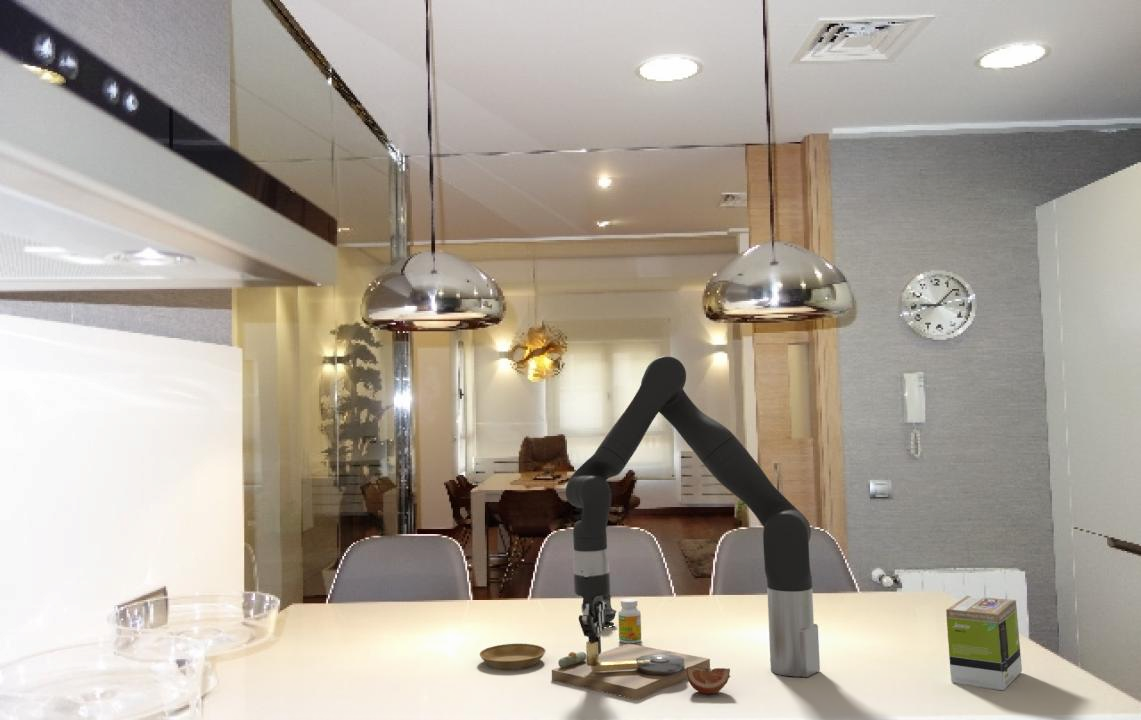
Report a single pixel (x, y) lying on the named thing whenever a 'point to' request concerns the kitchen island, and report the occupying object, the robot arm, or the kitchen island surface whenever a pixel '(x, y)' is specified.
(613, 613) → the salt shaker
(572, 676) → the levelling board
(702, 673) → the fruit slice
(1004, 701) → the kitchen island surface
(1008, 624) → the tea box
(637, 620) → the supplement bottle
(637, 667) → the grey and tan lever
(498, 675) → the kitchen island surface
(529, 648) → the plant saucer
